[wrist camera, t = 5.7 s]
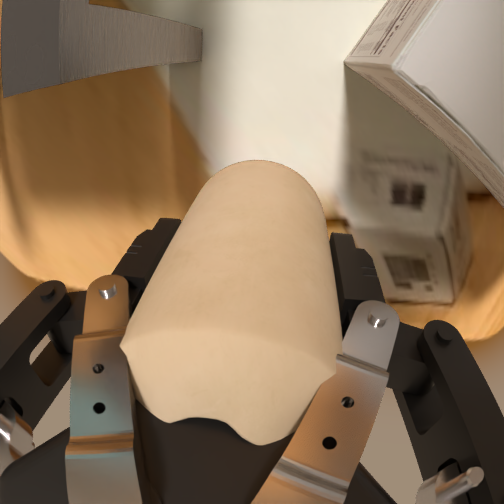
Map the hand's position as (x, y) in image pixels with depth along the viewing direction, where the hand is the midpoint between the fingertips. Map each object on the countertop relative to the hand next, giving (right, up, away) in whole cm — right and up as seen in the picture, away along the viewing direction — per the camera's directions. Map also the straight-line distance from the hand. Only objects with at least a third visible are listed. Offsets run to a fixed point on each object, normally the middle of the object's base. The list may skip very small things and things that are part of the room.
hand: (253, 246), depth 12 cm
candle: (0, +1, +2) cm, 2 cm away
